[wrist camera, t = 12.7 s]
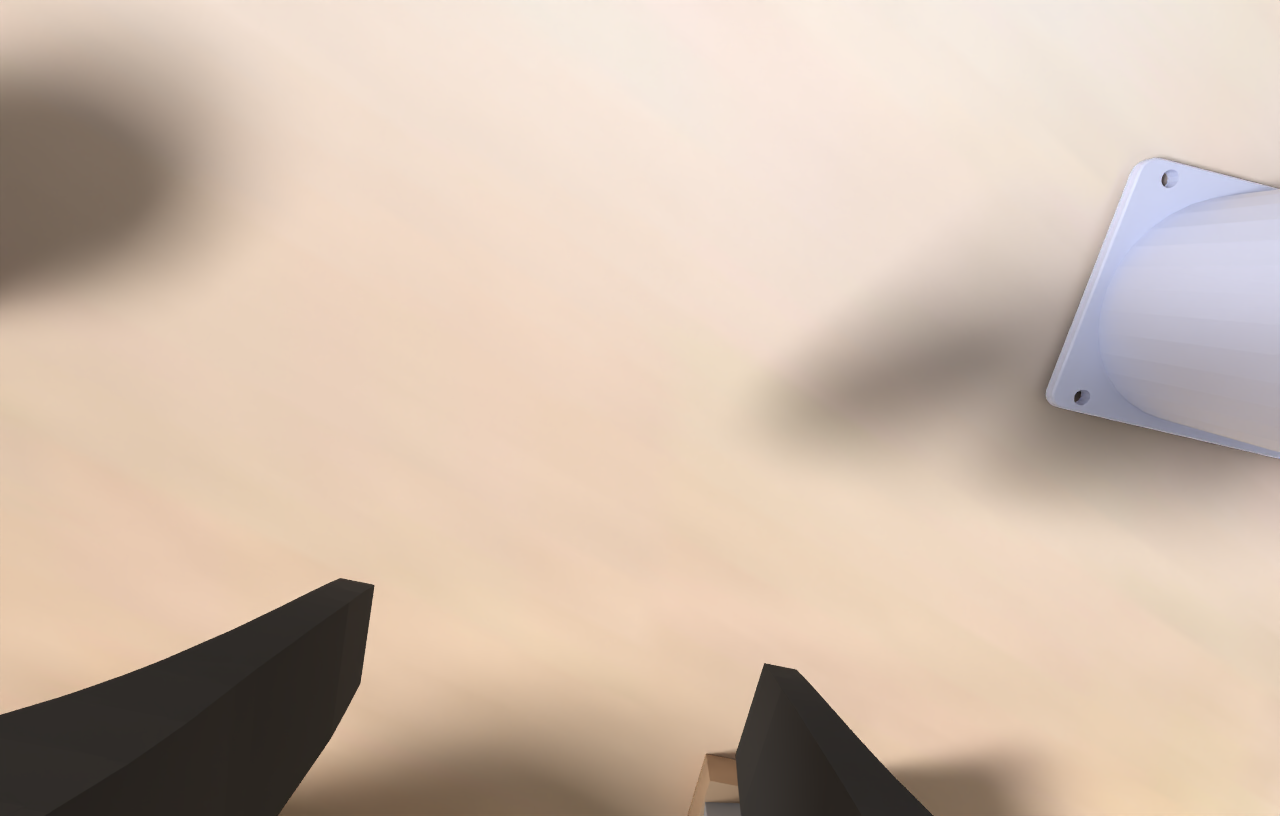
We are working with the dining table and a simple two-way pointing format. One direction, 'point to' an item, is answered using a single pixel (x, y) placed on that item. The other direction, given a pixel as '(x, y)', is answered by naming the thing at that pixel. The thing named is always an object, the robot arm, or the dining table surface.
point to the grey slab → (722, 809)
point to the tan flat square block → (715, 784)
